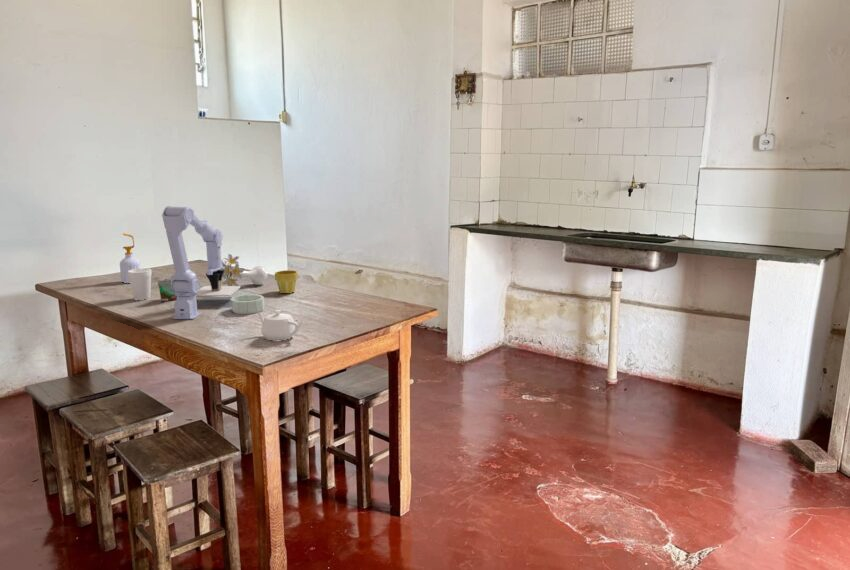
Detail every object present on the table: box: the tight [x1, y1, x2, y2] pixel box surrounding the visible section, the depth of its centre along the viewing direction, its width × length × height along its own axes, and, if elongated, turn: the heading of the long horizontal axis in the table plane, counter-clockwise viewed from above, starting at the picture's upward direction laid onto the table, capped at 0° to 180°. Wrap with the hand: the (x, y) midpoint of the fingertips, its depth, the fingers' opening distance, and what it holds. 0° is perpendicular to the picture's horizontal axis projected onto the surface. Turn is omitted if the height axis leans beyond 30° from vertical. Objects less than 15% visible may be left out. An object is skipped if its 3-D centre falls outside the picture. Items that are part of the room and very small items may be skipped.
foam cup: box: [128, 268, 153, 301], centre depth 276 cm, size 10×9×13 cm
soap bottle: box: [119, 232, 141, 284], centre depth 309 cm, size 9×9×25 cm
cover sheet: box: [196, 280, 241, 297], centre depth 269 cm, size 16×16×5 cm
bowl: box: [230, 293, 266, 315], centre depth 257 cm, size 13×13×6 cm
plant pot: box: [274, 269, 298, 294], centre depth 289 cm, size 10×10×10 cm
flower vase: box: [221, 253, 269, 286], centre depth 297 cm, size 13×18×25 cm
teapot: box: [257, 309, 300, 341], centre depth 221 cm, size 20×12×10 cm, turn 58°
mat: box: [196, 296, 232, 309], centre depth 270 cm, size 18×18×1 cm
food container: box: [157, 277, 177, 303], centre depth 274 cm, size 12×6×10 cm, turn 168°
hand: (216, 287), depth 269 cm, fingers closed on cover sheet, 3 cm apart
